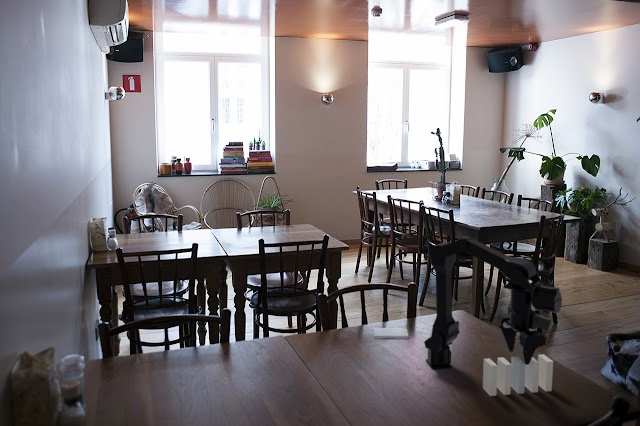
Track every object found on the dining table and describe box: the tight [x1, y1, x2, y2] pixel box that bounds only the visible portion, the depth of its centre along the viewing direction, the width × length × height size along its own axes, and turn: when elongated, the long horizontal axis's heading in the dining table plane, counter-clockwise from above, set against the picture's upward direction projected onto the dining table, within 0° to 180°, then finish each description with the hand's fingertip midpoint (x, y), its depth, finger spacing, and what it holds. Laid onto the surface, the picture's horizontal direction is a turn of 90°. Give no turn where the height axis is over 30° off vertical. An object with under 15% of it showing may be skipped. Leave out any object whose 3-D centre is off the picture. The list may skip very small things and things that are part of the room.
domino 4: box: [524, 356, 539, 393], centre depth 161 cm, size 2×5×9 cm, turn 8°
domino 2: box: [496, 357, 512, 396], centre depth 160 cm, size 2×5×9 cm, turn 8°
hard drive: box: [372, 327, 409, 340], centre depth 205 cm, size 2×8×12 cm
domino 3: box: [510, 356, 526, 395], centre depth 160 cm, size 2×5×9 cm, turn 7°
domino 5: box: [537, 354, 554, 392], centre depth 162 cm, size 2×5×9 cm, turn 8°
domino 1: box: [482, 358, 498, 397], centre depth 159 cm, size 2×5×9 cm, turn 8°
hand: (518, 357), depth 159 cm, fingers open, 9 cm apart
